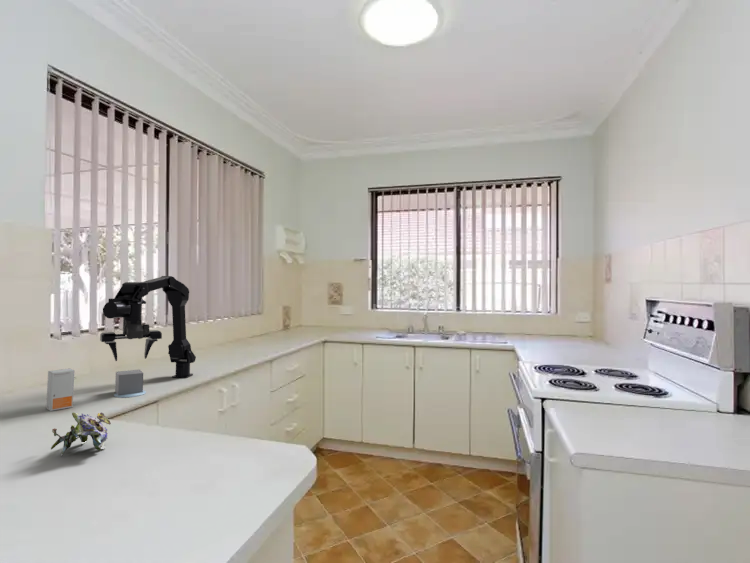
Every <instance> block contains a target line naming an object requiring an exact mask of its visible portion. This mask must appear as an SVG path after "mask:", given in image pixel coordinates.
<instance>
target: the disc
mask: <svg viewBox="0 0 750 563" xmlns="http://www.w3.org/2000/svg"><path fill="white" fill-rule="evenodd" d="M146 393H147V391H146V390H144V389H143V392H141V393H133V394H126V395H118V394H117V393H116V392H115V393H114V394H113V397H115V398H121V399H123V398H125V399H126V398H133V397H140V396H142V395H145V394H146Z"/></svg>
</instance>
